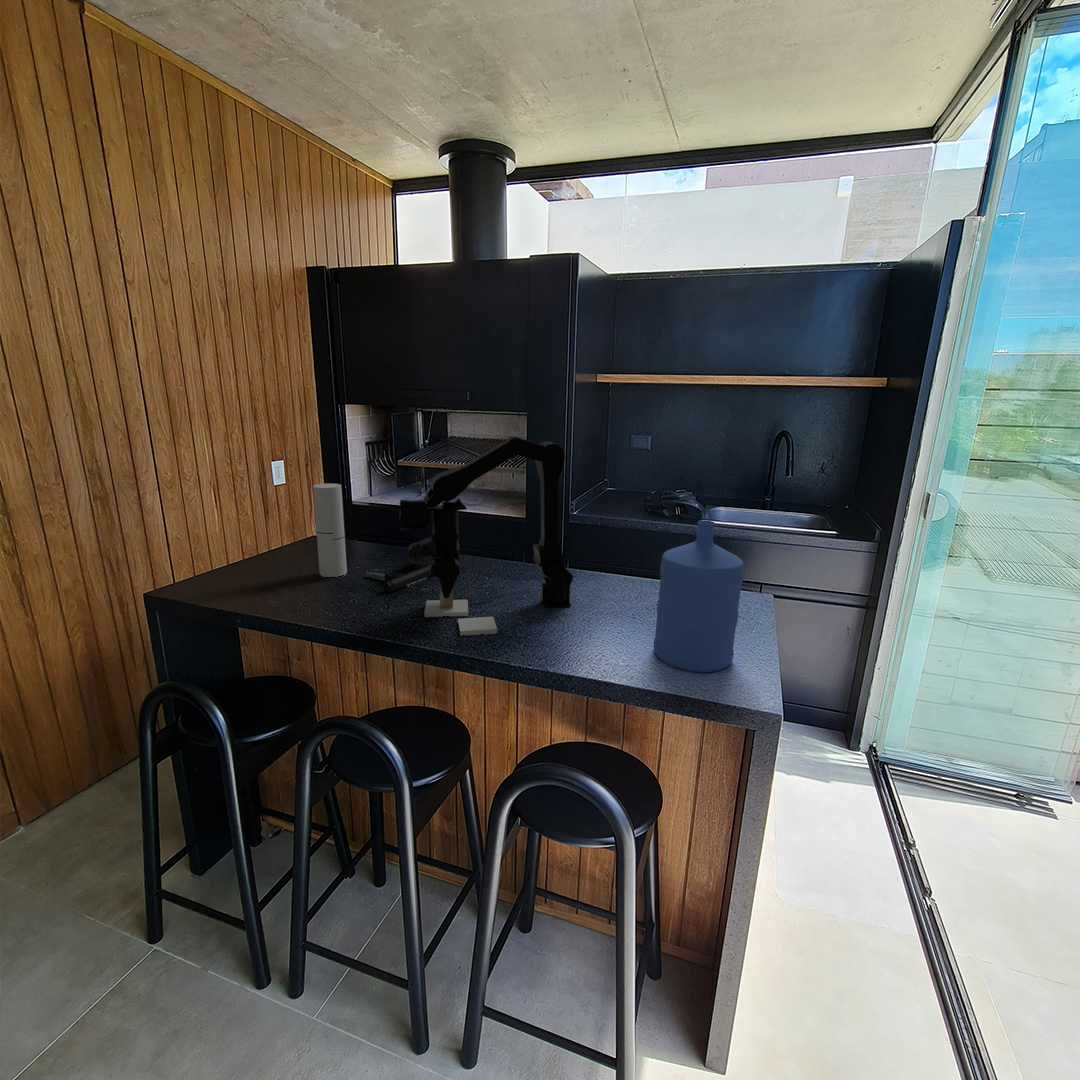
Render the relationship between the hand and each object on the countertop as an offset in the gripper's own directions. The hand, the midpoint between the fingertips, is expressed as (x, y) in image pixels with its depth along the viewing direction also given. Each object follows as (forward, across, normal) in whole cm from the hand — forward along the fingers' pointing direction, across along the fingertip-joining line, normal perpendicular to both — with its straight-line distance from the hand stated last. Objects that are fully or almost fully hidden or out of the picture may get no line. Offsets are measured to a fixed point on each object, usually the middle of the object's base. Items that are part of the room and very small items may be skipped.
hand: (446, 592), depth 134 cm
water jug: (+5, +28, +50) cm, 58 cm away
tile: (+4, +8, +7) cm, 11 cm away
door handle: (+5, -24, -14) cm, 28 cm away
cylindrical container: (+5, -29, -32) cm, 44 cm away
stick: (+4, 0, 0) cm, 4 cm away
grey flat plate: (+4, 0, 0) cm, 4 cm away
